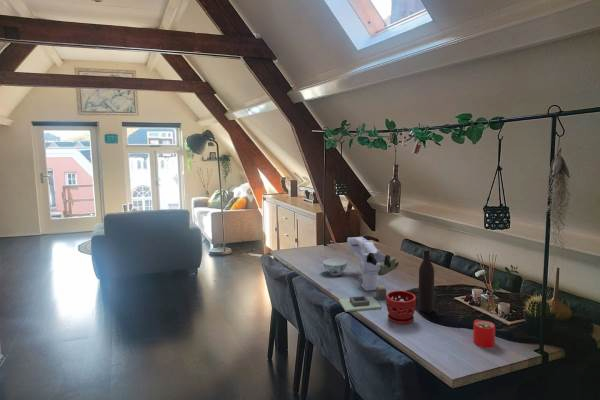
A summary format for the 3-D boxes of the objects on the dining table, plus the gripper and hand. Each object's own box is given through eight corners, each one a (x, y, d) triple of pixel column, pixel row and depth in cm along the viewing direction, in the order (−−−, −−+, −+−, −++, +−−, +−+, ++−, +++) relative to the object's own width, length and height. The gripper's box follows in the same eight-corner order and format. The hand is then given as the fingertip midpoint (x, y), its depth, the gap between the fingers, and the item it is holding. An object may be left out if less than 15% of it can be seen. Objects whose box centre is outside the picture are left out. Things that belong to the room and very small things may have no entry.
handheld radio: (377, 274, 257) (395, 264, 276) (381, 275, 255) (400, 265, 274) (377, 264, 256) (395, 254, 275) (382, 265, 254) (400, 255, 273)
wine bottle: (433, 308, 203) (433, 248, 199) (434, 313, 196) (435, 251, 192) (418, 307, 204) (418, 247, 200) (419, 313, 198) (419, 251, 194)
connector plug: (376, 296, 220) (376, 285, 220) (383, 296, 221) (383, 285, 220) (378, 299, 216) (378, 288, 216) (386, 298, 217) (386, 287, 216)
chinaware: (352, 272, 261) (351, 260, 260) (337, 279, 250) (337, 266, 249) (333, 268, 271) (332, 257, 270) (318, 274, 260) (318, 262, 259)
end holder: (338, 301, 215) (338, 295, 215) (372, 298, 218) (372, 292, 218) (345, 311, 202) (345, 306, 201) (381, 308, 204) (381, 302, 204)
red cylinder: (482, 333, 175) (482, 315, 174) (498, 346, 164) (499, 327, 162) (464, 334, 175) (464, 316, 173) (479, 348, 163) (480, 329, 162)
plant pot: (380, 318, 193) (380, 294, 191) (401, 312, 199) (401, 288, 197) (400, 329, 181) (400, 303, 180) (422, 322, 188) (422, 296, 186)
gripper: (363, 244, 221) (371, 255, 209) (388, 248, 225) (398, 259, 212) (360, 257, 223) (368, 268, 210) (384, 260, 226) (394, 271, 213)
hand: (382, 264), depth 211 cm, fingers open, 7 cm apart
